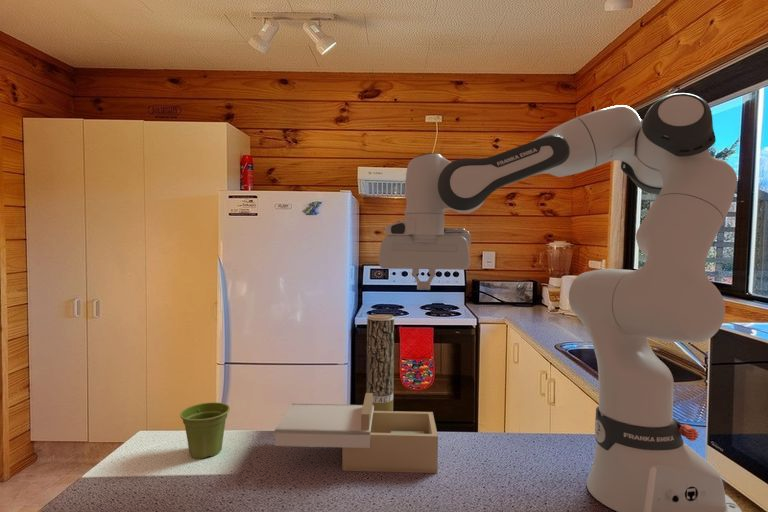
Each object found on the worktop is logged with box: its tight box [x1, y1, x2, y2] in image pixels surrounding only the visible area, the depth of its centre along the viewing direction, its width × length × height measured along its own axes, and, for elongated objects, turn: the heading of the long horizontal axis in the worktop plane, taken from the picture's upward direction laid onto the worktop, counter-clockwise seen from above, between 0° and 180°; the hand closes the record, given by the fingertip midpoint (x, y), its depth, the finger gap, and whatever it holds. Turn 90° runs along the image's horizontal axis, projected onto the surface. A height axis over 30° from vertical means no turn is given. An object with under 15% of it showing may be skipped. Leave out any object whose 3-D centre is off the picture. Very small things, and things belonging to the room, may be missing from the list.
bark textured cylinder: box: [366, 313, 395, 411], centre depth 110 cm, size 7×7×25 cm
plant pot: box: [179, 401, 231, 460], centre depth 89 cm, size 9×9×9 cm
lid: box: [274, 392, 374, 448], centre depth 88 cm, size 18×14×6 cm
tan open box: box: [341, 410, 439, 474], centre depth 88 cm, size 18×12×7 cm, turn 88°
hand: (423, 289), depth 97 cm, fingers closed
